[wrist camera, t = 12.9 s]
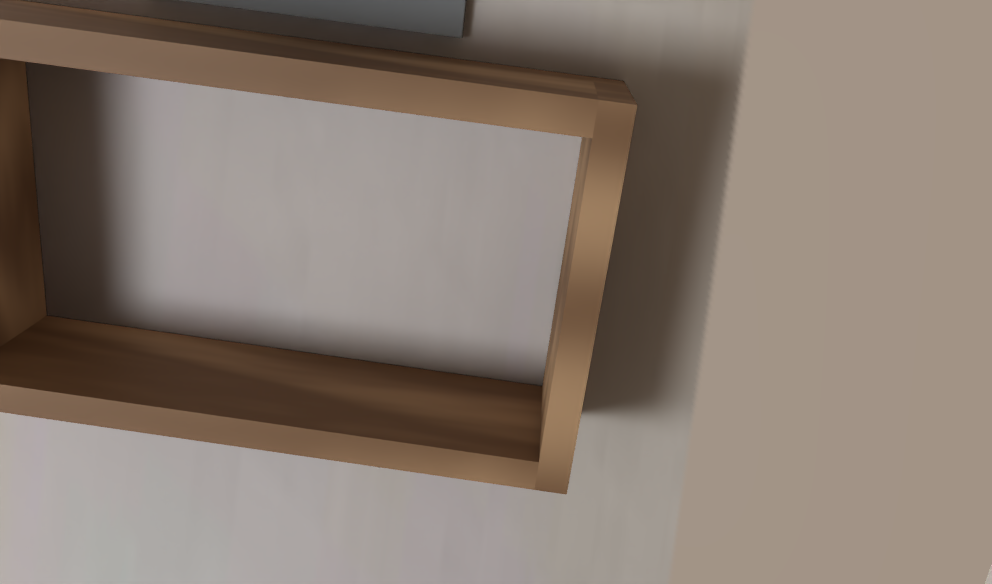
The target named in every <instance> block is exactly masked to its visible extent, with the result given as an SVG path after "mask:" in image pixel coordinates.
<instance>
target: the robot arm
mask: <svg viewBox="0 0 992 584" xmlns="http://www.w3.org/2000/svg"><path fill="white" fill-rule="evenodd" d="M985 584H992V565H991V568H990V571H989V574H988V577H987V580H986V583H985Z"/></svg>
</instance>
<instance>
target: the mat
mask: <svg viewBox="0 0 992 584" xmlns="http://www.w3.org/2000/svg"><path fill="white" fill-rule="evenodd" d="M180 1H187V2H195V3H202V4H210V5H217V6H225V7H232V8H240V9H247V10H255V11H262V12H270V13H277V14H285V15H292V16H300V17H307V18H315V19H322V20H330V21H337V22H345V23H352V24H360V25H367V26H375V27H382V28H390V29H397V30H405V31H412V32H420V33H427V34H435V35H442V36H450V37H457V38H462V37H463V28H464V19H465V9H466V0H180Z"/></svg>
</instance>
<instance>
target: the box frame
mask: <svg viewBox="0 0 992 584" xmlns="http://www.w3.org/2000/svg"><path fill="white" fill-rule="evenodd" d="M25 62H33V63H40V64H48V65H55V66H62V67H70V68H77V69H84V70H92V71H99V72H107V73H114V74H121V75H129V76H136V77H143V78H151V79H158V80H166V81H173V82H180V83H188V84H195V85H202V86H210V87H217V88H225V89H232V90H239V91H247V92H254V93H261V94H269V95H276V96H284V97H291V98H298V99H306V100H313V101H320V102H328V103H335V104H343V105H350V106H357V107H365V108H372V109H379V110H387V111H394V112H402V113H409V114H416V115H424V116H431V117H438V118H446V119H453V120H461V121H468V122H475V123H483V124H490V125H497V126H505V127H512V128H520V129H527V130H534V131H542V132H549V133H557V134H564V135H571V136H579V137H582V142H581V148H580V154H579V160H578V167H577V173H576V179H575V185H574V192H573V198H572V204H571V210H570V216H569V223H568V229H567V235H566V241H565V248H564V254H563V260H562V266H561V273H560V279H559V285H558V291H557V298H556V304H555V310H554V316H553V322H552V329H551V335H550V341H549V347H548V354H547V360H546V366H545V372H544V379H543V385H542V386H537V385H530V384H523V383H516V382H509V381H502V380H495V379H488V378H481V377H474V376H467V375H460V374H453V373H446V372H439V371H432V370H425V369H418V368H411V367H404V366H397V365H390V364H383V363H376V362H369V361H362V360H355V359H348V358H341V357H334V356H327V355H320V354H313V353H306V352H299V351H292V350H285V349H278V348H271V347H264V346H257V345H250V344H243V343H236V342H229V341H222V340H215V339H208V338H201V337H194V336H187V335H180V334H173V333H166V332H159V331H152V330H145V329H138V328H131V327H124V326H117V325H110V324H102V323H95V322H88V321H81V320H74V319H67V318H60V317H53V316H47V312H46V301H45V289H44V277H43V265H42V253H41V241H40V230H39V218H38V206H37V194H36V182H35V171H34V159H33V147H32V135H31V123H30V112H29V100H28V88H27V76H26V64H25ZM636 110H637V103H636V102H635V100H634V98H633V96H632V95H631V93H630V91H629V90H628V88H627V86H626V84H625V83H624V81H620V80H612V79H605V78H597V77H590V76H582V75H575V74H567V73H560V72H552V71H545V70H537V69H530V68H522V67H515V66H507V65H500V64H493V63H485V62H478V61H470V60H463V59H455V58H448V57H440V56H433V55H425V54H418V53H410V52H403V51H395V50H388V49H380V48H373V47H366V46H358V45H351V44H343V43H336V42H328V41H321V40H313V39H306V38H298V37H291V36H283V35H276V34H268V33H261V32H253V31H246V30H239V29H231V28H224V27H216V26H209V25H201V24H194V23H186V22H179V21H171V20H164V19H156V18H149V17H141V16H134V15H126V14H119V13H112V12H104V11H97V10H89V9H82V8H74V7H67V6H59V5H52V4H44V3H37V2H29V1H22V0H0V412H4V413H11V414H18V415H25V416H32V417H39V418H46V419H52V420H59V421H66V422H73V423H80V424H87V425H94V426H100V427H107V428H114V429H121V430H128V431H135V432H142V433H149V434H155V435H162V436H169V437H176V438H183V439H190V440H197V441H204V442H210V443H217V444H224V445H231V446H238V447H245V448H252V449H258V450H265V451H272V452H279V453H286V454H293V455H300V456H307V457H313V458H320V459H327V460H334V461H341V462H348V463H355V464H362V465H368V466H375V467H382V468H389V469H396V470H403V471H410V472H417V473H423V474H430V475H437V476H444V477H451V478H458V479H465V480H471V481H478V482H485V483H492V484H499V485H506V486H513V487H520V488H526V489H533V490H540V491H547V492H554V493H561V494H567V489H568V483H569V478H570V472H571V467H572V461H573V456H574V450H575V445H576V439H577V434H578V428H579V423H580V417H581V412H582V406H583V401H584V395H585V390H586V384H587V379H588V373H589V368H590V363H591V357H592V352H593V346H594V341H595V335H596V330H597V324H598V319H599V313H600V308H601V302H602V297H603V291H604V286H605V280H606V275H607V269H608V264H609V258H610V253H611V247H612V242H613V236H614V231H615V225H616V220H617V214H618V209H619V204H620V198H621V193H622V187H623V182H624V176H625V171H626V165H627V160H628V154H629V149H630V143H631V138H632V132H633V127H634V121H635V116H636Z"/></svg>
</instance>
